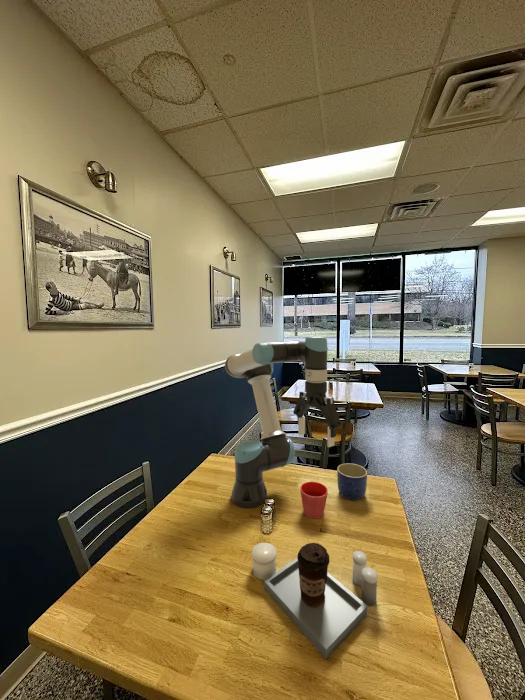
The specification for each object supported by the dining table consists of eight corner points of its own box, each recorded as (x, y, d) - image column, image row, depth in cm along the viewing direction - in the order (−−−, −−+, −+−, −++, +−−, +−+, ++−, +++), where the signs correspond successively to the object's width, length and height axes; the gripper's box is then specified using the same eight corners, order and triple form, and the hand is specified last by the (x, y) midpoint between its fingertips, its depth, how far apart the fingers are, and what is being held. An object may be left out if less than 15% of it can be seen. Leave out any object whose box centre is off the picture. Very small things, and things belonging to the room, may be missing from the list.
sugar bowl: (247, 568, 88) (246, 550, 87) (266, 556, 92) (265, 539, 92) (262, 585, 82) (261, 566, 82) (281, 571, 87) (281, 553, 86)
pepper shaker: (358, 598, 78) (359, 572, 77) (366, 590, 80) (367, 565, 79) (371, 609, 75) (372, 582, 74) (379, 600, 77) (380, 574, 76)
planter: (369, 491, 128) (370, 467, 127) (362, 506, 117) (363, 480, 116) (341, 483, 134) (342, 460, 133) (333, 496, 124) (333, 472, 123)
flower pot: (330, 507, 117) (330, 484, 116) (324, 524, 107) (324, 499, 106) (304, 501, 121) (304, 478, 120) (296, 516, 111) (296, 492, 110)
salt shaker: (349, 579, 84) (350, 555, 83) (357, 572, 86) (357, 548, 85) (361, 589, 81) (361, 563, 80) (368, 581, 83) (369, 556, 82)
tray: (264, 588, 81) (264, 580, 81) (304, 560, 91) (304, 552, 90) (326, 659, 64) (326, 649, 63) (367, 614, 73) (367, 605, 73)
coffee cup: (329, 616, 72) (330, 568, 71) (296, 610, 74) (296, 562, 73) (328, 585, 81) (329, 541, 79) (298, 580, 82) (298, 537, 81)
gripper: (283, 377, 109) (284, 432, 110) (338, 388, 89) (337, 454, 91) (298, 375, 113) (298, 427, 115) (353, 384, 94) (352, 448, 95)
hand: (315, 439), depth 103 cm, fingers open, 13 cm apart
